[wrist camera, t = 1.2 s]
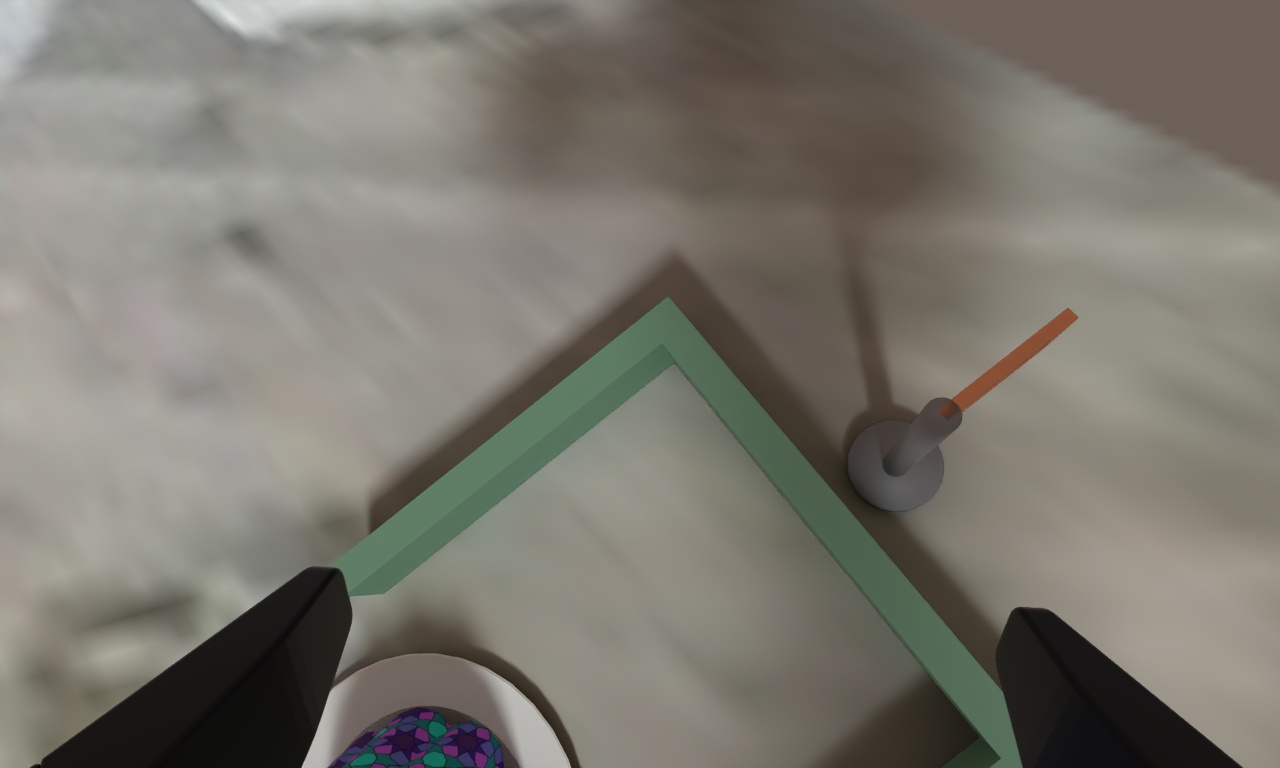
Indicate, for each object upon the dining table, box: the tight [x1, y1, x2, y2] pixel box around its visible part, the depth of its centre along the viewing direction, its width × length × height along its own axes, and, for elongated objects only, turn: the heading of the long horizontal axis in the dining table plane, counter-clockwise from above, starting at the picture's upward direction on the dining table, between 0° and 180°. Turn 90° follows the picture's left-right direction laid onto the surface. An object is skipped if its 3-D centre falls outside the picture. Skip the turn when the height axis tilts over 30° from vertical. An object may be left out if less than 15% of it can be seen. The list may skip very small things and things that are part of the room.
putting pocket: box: [330, 296, 1079, 768], centre depth 20 cm, size 21×18×9 cm
